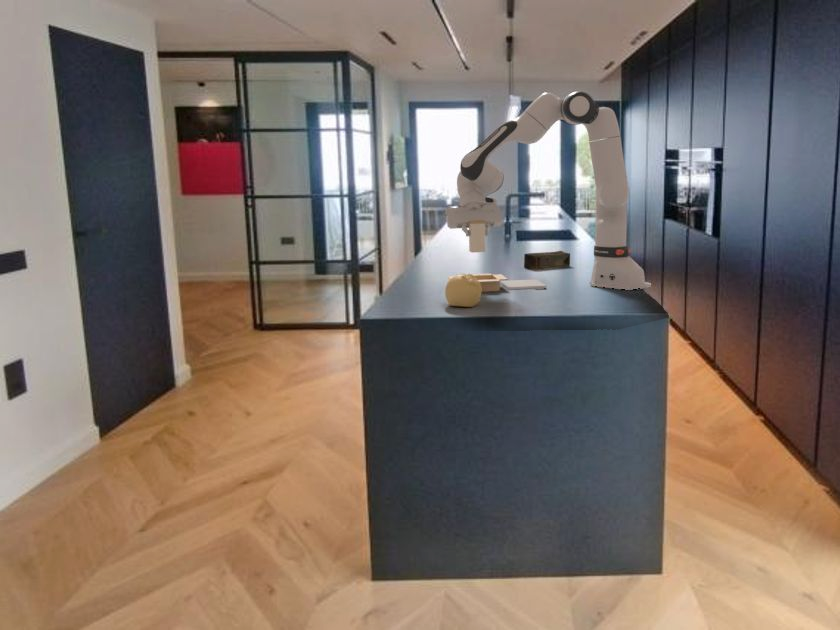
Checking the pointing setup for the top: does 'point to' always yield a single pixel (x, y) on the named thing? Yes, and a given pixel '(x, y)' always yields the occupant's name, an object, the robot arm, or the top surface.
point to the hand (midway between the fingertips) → (477, 235)
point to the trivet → (523, 284)
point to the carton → (488, 281)
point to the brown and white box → (477, 236)
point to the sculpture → (463, 290)
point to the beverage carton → (546, 260)
